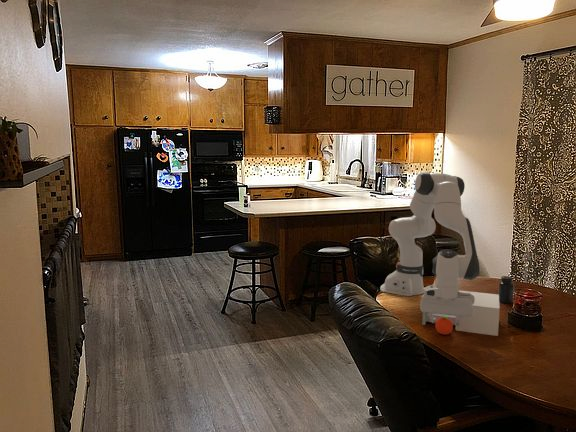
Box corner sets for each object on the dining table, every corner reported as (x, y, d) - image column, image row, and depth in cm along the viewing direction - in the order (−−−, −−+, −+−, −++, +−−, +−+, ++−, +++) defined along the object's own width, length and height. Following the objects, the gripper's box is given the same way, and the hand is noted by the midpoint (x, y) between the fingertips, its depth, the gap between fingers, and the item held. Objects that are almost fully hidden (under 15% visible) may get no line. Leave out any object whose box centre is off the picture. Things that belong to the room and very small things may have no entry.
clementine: (439, 328, 196) (440, 312, 195) (456, 332, 192) (457, 315, 190) (432, 334, 190) (432, 317, 189) (449, 339, 185) (449, 321, 184)
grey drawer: (418, 324, 199) (419, 299, 198) (423, 309, 216) (424, 287, 214) (458, 329, 193) (459, 304, 191) (460, 314, 210) (461, 291, 208)
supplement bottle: (510, 299, 230) (511, 275, 228) (515, 303, 223) (517, 279, 221) (495, 298, 230) (497, 275, 228) (500, 303, 224) (502, 279, 222)
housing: (455, 330, 194) (456, 303, 192) (458, 315, 210) (459, 290, 208) (497, 336, 187) (499, 308, 186) (497, 319, 204) (498, 294, 202)
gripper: (475, 291, 186) (473, 324, 189) (421, 286, 194) (421, 318, 196) (474, 296, 181) (473, 330, 183) (419, 290, 189) (419, 323, 191)
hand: (445, 324), depth 190 cm, fingers open, 8 cm apart
